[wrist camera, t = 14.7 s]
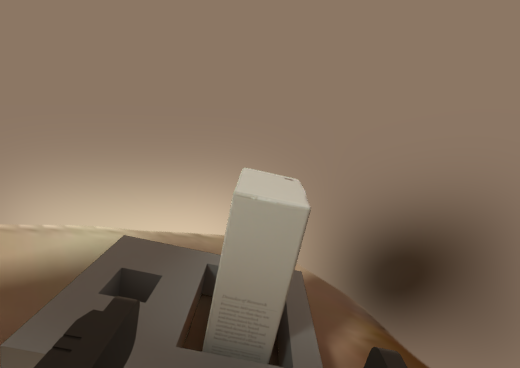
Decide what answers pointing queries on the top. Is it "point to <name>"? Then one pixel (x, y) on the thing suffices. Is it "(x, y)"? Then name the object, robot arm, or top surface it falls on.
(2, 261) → the top surface
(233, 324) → the skincare box
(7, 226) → the top surface
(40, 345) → the holder
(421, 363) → the top surface
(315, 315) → the top surface
